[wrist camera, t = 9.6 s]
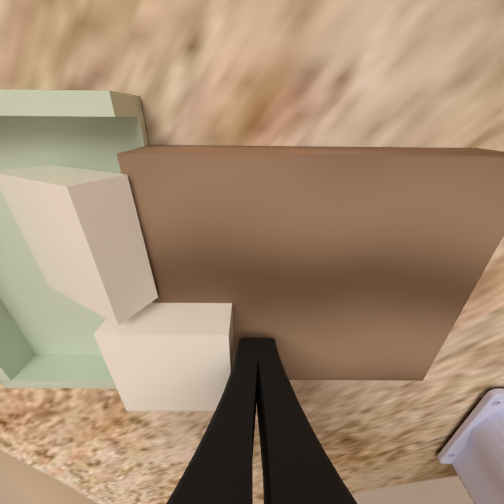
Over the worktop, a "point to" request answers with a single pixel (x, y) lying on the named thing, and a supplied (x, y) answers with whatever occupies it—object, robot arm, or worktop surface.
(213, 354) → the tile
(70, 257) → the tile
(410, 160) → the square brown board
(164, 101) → the worktop surface
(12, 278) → the tray
